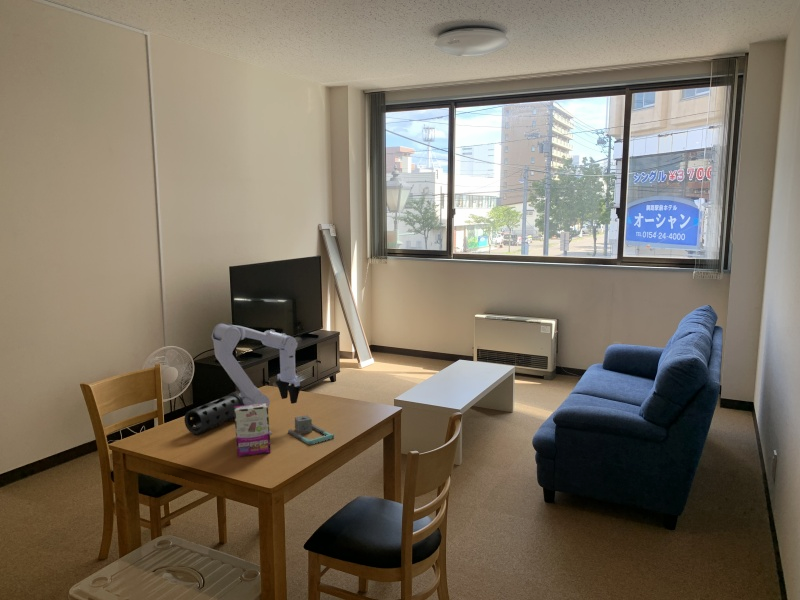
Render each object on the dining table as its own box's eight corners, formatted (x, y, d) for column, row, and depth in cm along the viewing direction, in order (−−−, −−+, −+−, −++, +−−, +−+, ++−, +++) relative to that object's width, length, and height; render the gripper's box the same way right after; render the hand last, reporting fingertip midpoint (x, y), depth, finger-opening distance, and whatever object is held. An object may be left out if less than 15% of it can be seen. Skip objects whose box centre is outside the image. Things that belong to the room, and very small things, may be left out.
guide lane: (310, 445, 210) (309, 441, 210) (288, 432, 222) (288, 428, 222) (334, 438, 216) (334, 434, 216) (311, 426, 228) (311, 422, 228)
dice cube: (298, 434, 221) (298, 421, 220) (295, 430, 225) (294, 417, 224) (311, 432, 223) (311, 419, 222) (308, 427, 227) (307, 415, 226)
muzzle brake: (184, 434, 222) (182, 408, 221) (235, 412, 247) (234, 388, 246) (204, 438, 218) (202, 411, 216) (253, 415, 243) (252, 390, 241)
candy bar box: (269, 447, 208) (267, 402, 206) (270, 453, 203) (268, 406, 201) (236, 451, 205) (234, 405, 203) (236, 457, 200) (234, 410, 198)
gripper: (306, 368, 225) (307, 402, 227) (288, 361, 236) (289, 394, 238) (289, 371, 221) (291, 406, 223) (271, 364, 232) (273, 397, 234)
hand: (289, 400), depth 230 cm, fingers open, 7 cm apart
